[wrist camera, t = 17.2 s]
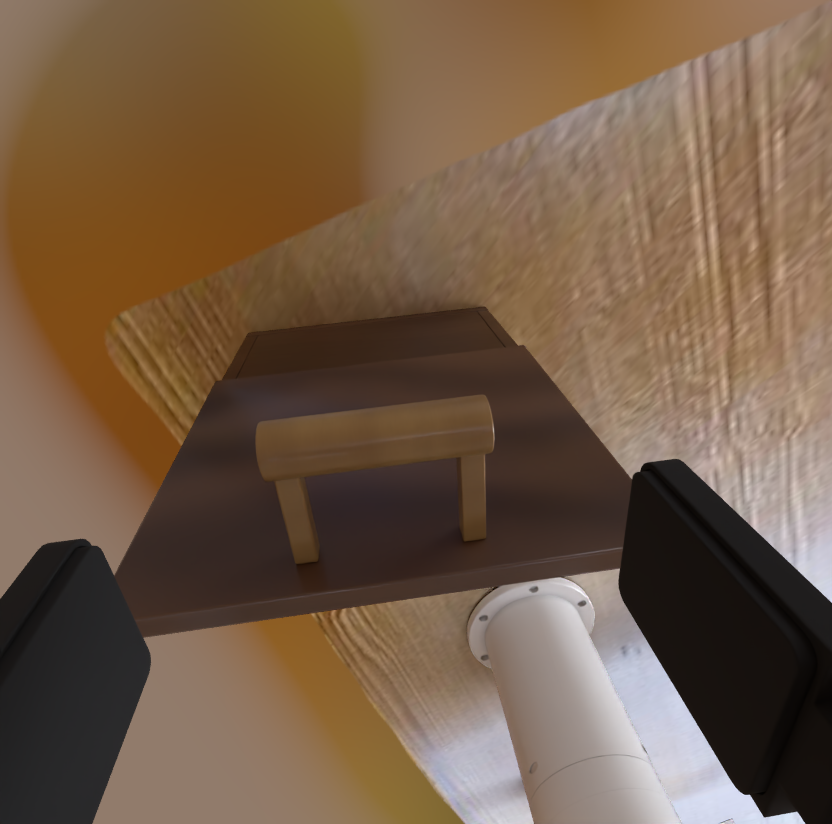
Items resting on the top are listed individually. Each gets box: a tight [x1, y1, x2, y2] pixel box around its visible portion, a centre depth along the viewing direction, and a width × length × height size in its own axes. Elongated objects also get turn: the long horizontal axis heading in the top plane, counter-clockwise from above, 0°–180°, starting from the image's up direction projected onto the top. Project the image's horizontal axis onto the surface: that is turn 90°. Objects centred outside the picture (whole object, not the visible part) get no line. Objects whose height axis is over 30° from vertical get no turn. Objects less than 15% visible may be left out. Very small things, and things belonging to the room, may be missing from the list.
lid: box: [114, 345, 632, 638], centre depth 20 cm, size 16×17×5 cm
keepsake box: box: [222, 307, 518, 380], centre depth 36 cm, size 15×17×9 cm
